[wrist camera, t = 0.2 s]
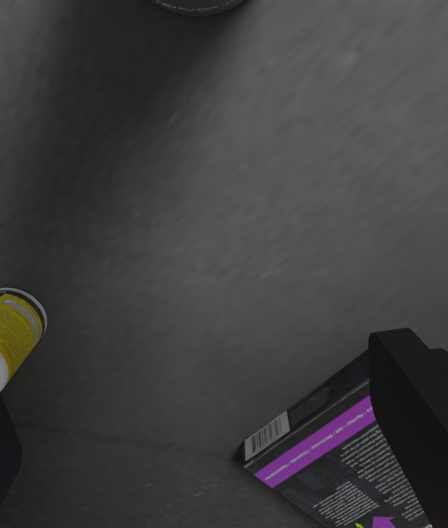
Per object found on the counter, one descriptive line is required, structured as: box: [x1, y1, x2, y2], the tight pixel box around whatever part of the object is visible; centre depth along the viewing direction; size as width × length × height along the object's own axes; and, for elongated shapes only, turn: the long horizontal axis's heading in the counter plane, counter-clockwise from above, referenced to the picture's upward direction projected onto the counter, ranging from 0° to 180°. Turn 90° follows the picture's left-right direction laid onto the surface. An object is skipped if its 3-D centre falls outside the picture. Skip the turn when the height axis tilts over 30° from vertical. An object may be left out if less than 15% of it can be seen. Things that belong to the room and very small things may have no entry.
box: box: [242, 349, 433, 528], centre depth 34 cm, size 14×4×20 cm
